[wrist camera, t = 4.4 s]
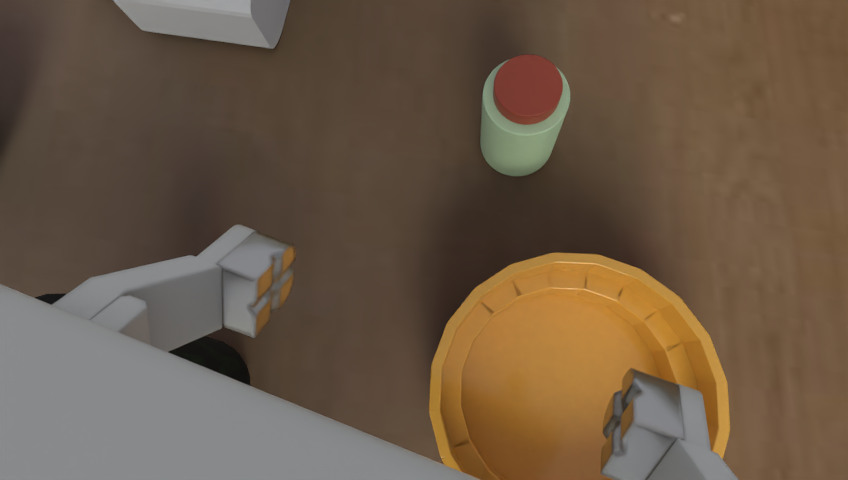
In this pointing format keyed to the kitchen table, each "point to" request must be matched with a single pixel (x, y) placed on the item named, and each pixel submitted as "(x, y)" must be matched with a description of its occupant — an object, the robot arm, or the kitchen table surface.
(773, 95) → the kitchen table surface
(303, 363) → the kitchen table surface
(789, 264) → the kitchen table surface
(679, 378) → the bowl
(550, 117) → the container
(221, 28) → the charger
